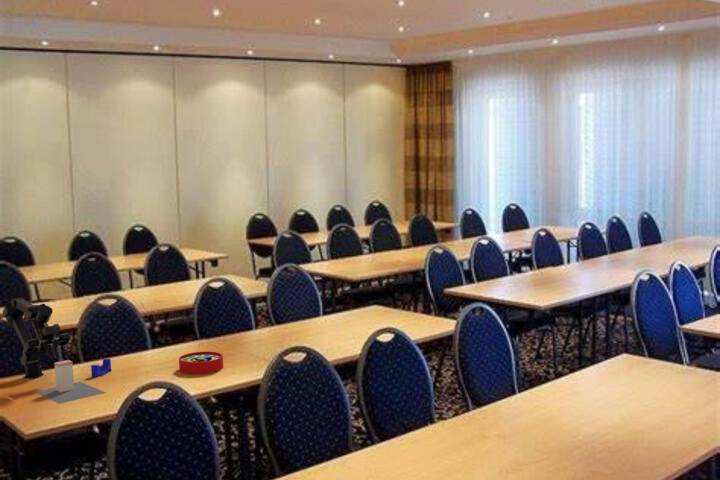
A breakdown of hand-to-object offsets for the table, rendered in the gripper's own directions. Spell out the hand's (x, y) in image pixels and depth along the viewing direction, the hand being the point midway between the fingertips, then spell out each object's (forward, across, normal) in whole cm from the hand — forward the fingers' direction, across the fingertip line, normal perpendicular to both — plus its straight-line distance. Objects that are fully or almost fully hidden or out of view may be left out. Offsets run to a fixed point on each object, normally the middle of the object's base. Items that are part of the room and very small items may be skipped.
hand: (54, 358), depth 350 cm
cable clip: (+6, +22, +12) cm, 26 cm away
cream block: (+15, 0, +2) cm, 15 cm away
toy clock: (+25, +59, -7) cm, 64 cm away
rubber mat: (+19, 0, -1) cm, 19 cm away
